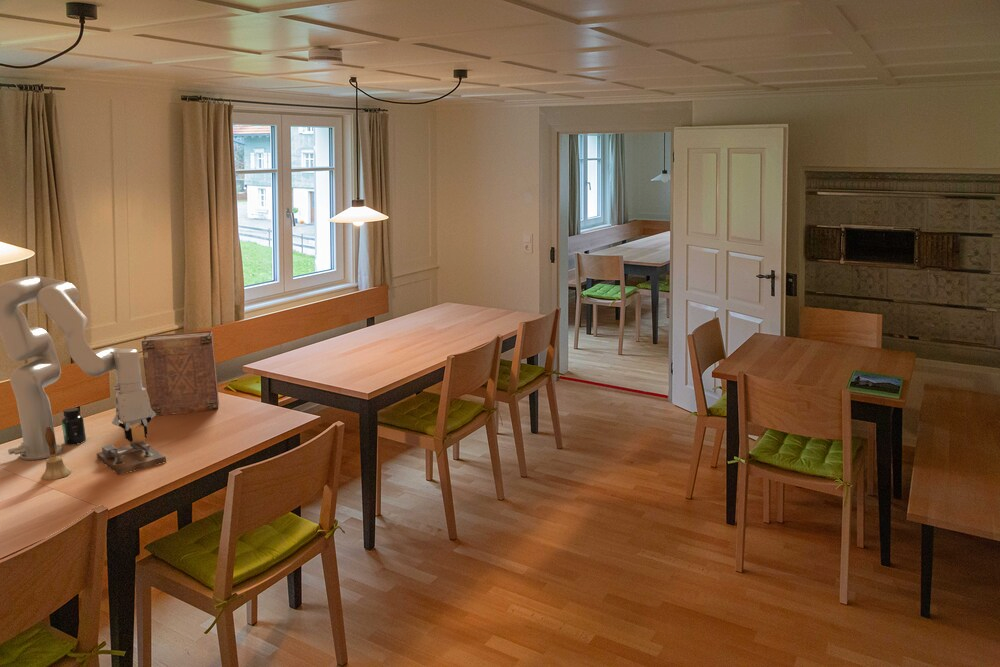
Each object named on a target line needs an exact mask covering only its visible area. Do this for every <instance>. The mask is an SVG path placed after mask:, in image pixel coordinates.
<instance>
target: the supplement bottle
mask: <svg viewBox="0 0 1000 667" xmlns="http://www.w3.org/2000/svg"><path fill="white" fill-rule="evenodd" d="M62 412H63V417H62V419H61V428H62V434H63V442H64V444H65V445H67V444H76V445H78V444H77V443H80V444H82V443H81V442H83V441H85V442H86V440H87V435H86V428H85V423H84V417H83V416H82V415H80V410H79V408H78V407H70V408H69V407H68V408H66V409H64V410H63V411H62ZM83 443H84V442H83Z"/></svg>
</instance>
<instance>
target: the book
mask: <svg viewBox="0 0 1000 667" xmlns="http://www.w3.org/2000/svg"><path fill="white" fill-rule="evenodd" d="M143 338H144V339H143V340H141V349H142V358H143V366H144V374H145V382H146V390H147V393H148V397H149V401H150V406H151V409H152V410H153V411H154V412H155V413H156V415H159V416H164V415H163V414H168V415H174V414H173V413H177V414H184V413H185V412H187V413H195V412H203V411H204V410H206V411H214V410H219V405H220V400H219V399H220V398H219V397H220V396H219V390H218V376H217V367H216V358H215V357H216V356H215V355H216V354H215V348H214V347H215V346H214V332H213V331H212V330H206V331H194V332H179V333H178V332H177V333H164V334H151V335H144V337H143ZM185 414H186V413H185Z"/></svg>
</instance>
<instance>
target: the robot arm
mask: <svg viewBox="0 0 1000 667" xmlns="http://www.w3.org/2000/svg"><path fill="white" fill-rule="evenodd" d="M79 300H80V292H79V290H78V288H77V287H76V286H75V285H74V284H73V283H71V282H69V281H65V280H60V279H55V278H50V277H45V276H40V275H29V276H24V277H19V278H15V279H11V280H8V281H4V282H2V283H0V337H1V341H2V342H3V347H4V349H5V352H6V355H7V356H8V358H9V359H10V360H12V361H15V362H23V361H26V360H29V359H30V362H25V363H24V364H21V365H20V366H18V367H16V368H15V369H14V370H13V371H12V372H11V375H10V379H9V382H10V387H11V389H12V391H13V394H14V397H15V400H16V406H17V411H18V416H19V423H20V429H21V435H22V442H20V445H18V446H17V447H12V448H11V447H10V448H8V449H7V452H8V455H16V456H17V455H19V457H20V459H22V460H26V461H35V460H43V459H49V458H50V450H49V446H48V444H47V441H46V438H45V433H46V428H47V427H51V429H52V431H53V432H54V435H55V436H56V433H55V428H54V420H53V413H52V407H51V406H52V405H51V402H50V401H51V400H50V398H49V396H48V395H47V393H46V390H45V389H44V388H46V387H48V386H51V385H52V384H54V383H56V382H57V381H58V380H59V379H60V378H61V374H62V368H61V363H60V360H59V357H58V354H57V350H56V346H55V343H54V341H53V338H52V336H51V335H50V333H49V332H48V331H47V330H45V329H44V328H42V327H39V326H33V327H30V326H29V322H28V318H27V317H26V315H25V314H24V312H23V311H22V310H21V309H20V308H19V307H20V306H22V305H26V304H29V303H33V302H37V304H38V306H40V308H41V310H43V312H44V313H45V314H46V315H47V316H48V318H50V320H51V321H52V322H53V323H54V324H55V325H56V326H57V328H58V329H59V330H60V331H61V332H62V334H63V335H64V341H65V345H66V346H65V347H66V348H67V352H68V354H69V356H70V358H71V359H72V361H73V362H74V363H75V364H76V365H77V366H78V368H79V369H81V370H82V372H84V373H85V374H86V375H88V376H90V377H100V376H102V375H104V374H107V373H109V372H111V371H113V370H114V371H115V377H116V384H115V385H114V386H113V387H112V388H113V390H114V391H116V394H115V416H114V418H113V419H112V421H111V424H112V425H114V426H116V427H120V428H121V429H123V431H124V438H125V440H127V441H128V442H129V443H130V442H131V441H132V435H131V430H130V428H129V424H130V422H132V421H136V420H140V421H141V425H143V426H144V433H145V439H146V438H147V435H148V425H149V423H150V421H151V420H152V419H153V418H154V417H156V416H155V415H156V413H155V412H154V411H153V410H152V409H151V406H150V401H149V397H148V393H147V387H144V385H143V377H142V368H141V360H140V359H141V358H140V353H139V351H138V350H137V349H134V348H116V347H111V346H108V347H104V348H102V349H100V350H96V351H94V349H92V348H91V346H90V345H89V344H88V342H87V339H86V337H85V330H86V327H87V325H88V323H89V319H88V317H87V316H86V315H85V314H84V312H82V310H81V309H79V307H78V306H77V305H76V304H77V303H78V302H79ZM56 440H57V439H56V438H55V444H54V446H55V452H56V454H57V455H59V454H60V453H61V452H63V447H62V445H60V444H58V443H57V441H56Z"/></svg>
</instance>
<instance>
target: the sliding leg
mask: <svg viewBox="0 0 1000 667" xmlns="http://www.w3.org/2000/svg"><path fill="white" fill-rule="evenodd" d="M129 428H130V430H131V435H132V441H131V442H130V441H129V445H130V446H131V447H132V448H134V449H135V450H138V449H143V450H145V455H148V454H149V452H148V451H149V447H148V446H146V445H145V444H146V443H145V441H146V438H145V433H144V426H143V425H141V424H140V423H138V424H134V425H130V426H129Z"/></svg>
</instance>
